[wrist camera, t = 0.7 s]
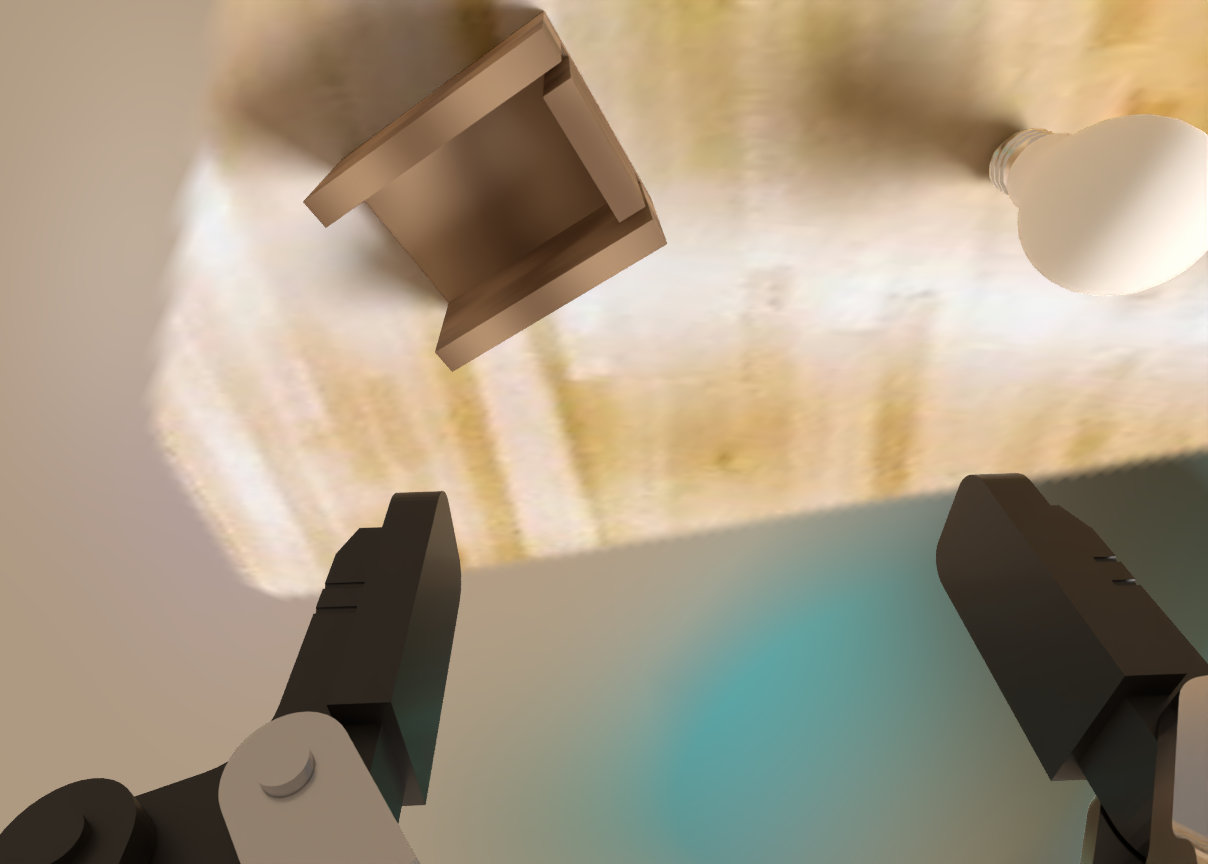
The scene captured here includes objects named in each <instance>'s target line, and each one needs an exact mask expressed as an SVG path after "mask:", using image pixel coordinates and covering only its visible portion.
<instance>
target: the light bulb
mask: <svg viewBox="0 0 1208 864" xmlns="http://www.w3.org/2000/svg"><path fill="white" fill-rule="evenodd" d="M989 178H990V180H991V181H992V183H993V185H994V187H995V188H997V189H998V190H1000V191H1001V192H1003V193H1005V194H1007V195H1008V196H1009V197H1010V199H1011V200H1012V202H1013V203H1014V205H1015V206H1016V207H1018V208H1019V209H1018V234H1019V239H1020V241H1021V244H1022V247H1023V250H1024V252H1025V254H1026V256H1027V258H1028V259H1029V261H1030V262H1031V263H1032V265H1033V266H1034V267H1035V268H1036V269H1037V270H1038V271H1039V272H1040V273H1041V274H1042V275H1043V276H1044V277H1046V278H1047V279H1048V280H1050V281H1051V282H1053V283H1055V284H1057V285H1059V286H1061V287H1063V288H1066V289H1068V290H1070V291H1073V292H1077V293H1083V294H1088V295H1095V296H1115V295H1127V294H1131V293H1136V292H1141V291H1143V290H1146V289H1149V288H1151V287H1154V286H1157V285H1159V284H1162V283H1164V282H1166V281H1168V280H1170V279H1172V278H1174V277H1176V276H1178V275H1179V274H1180V273H1182V272H1183V271H1185V270H1186V269H1188V268H1189V267H1190V266H1192V265H1193V264H1194V263H1195V262H1196V261H1197V260H1198V259H1200V258H1201V257H1202V256H1203V255H1204V253H1205V252H1206V251H1207V250H1208V135H1207V134H1206V133H1205V132H1203V131H1202V130H1200V129H1198V128H1196V127H1194V126H1192V125H1190V124H1188V123H1186V122H1184V121H1182V120H1180V119H1176V118H1171V117H1166V116H1160V115H1153V114H1140V115H1128V116H1121V117H1116V118H1112V119H1108V120H1104V121H1101V122H1099V123H1097V124H1094V125H1092V126H1090V127H1087V128H1085V129H1083V130H1081V131H1079V132H1077V133H1075V134H1069V133H1052V132H1051V131H1047V130H1046V129H1037V128H1032V129H1026V130H1023V131H1020V132H1017V133H1014V134H1013V135H1012V136H1010V137H1009V138H1007V139H1006V140H1005V141H1003V142H1002V143H1001V145H1000V146H999V147H998V148H997V149H996V150H995V151H994V152H993V155H992V158H991V161H990V164H989Z"/></svg>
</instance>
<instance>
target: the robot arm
mask: <svg viewBox="0 0 1208 864" xmlns="http://www.w3.org/2000/svg"><path fill="white" fill-rule="evenodd" d="M936 564H937V571H938V575H939V578H940V581H941V583H942V585H943V587H944V589H945V591H946V592H947V594H948V596H949V598H950V599H951V601H952V603H953V605H954V606H955V609H956V610H957V612H958V614H959V616H960V618H961V619H962V621H963V623H964V625H965V627H966V628H967V630H968V632H969V634H970V636H971V637H972V639H973V641H974V643H975V645H976V646H977V648H978V650H979V652H980V653H981V655H982V657H983V659H984V660H985V663H986V664H987V666H988V668H989V670H990V672H991V673H992V675H993V677H994V679H995V680H996V682H997V684H998V686H999V688H1000V690H1001V692H1002V693H1003V695H1004V697H1005V699H1006V700H1007V702H1008V704H1009V706H1010V708H1011V710H1012V711H1013V713H1014V715H1015V717H1016V718H1017V720H1018V722H1019V724H1020V726H1021V728H1022V729H1023V731H1024V733H1025V735H1026V736H1027V738H1028V740H1029V742H1030V744H1031V746H1032V747H1033V749H1034V751H1035V753H1036V755H1037V756H1038V758H1039V760H1040V762H1041V763H1042V765H1043V767H1044V769H1045V771H1046V773H1047V774H1048V776H1049V778H1050V780H1051V781H1064V780H1087V781H1088V782H1089V784H1090V786H1091V787H1092V789H1093V791H1094V792H1095V794H1096V796H1095V797H1094V798H1093V800H1092V801H1091V803H1090V805H1089V808H1088V812H1087V819H1086V825H1085V832H1084V839H1083V845H1082V852H1081V858H1080V864H1208V664H1207V662H1206V661H1205V660H1204V659H1203V658H1202V657H1201V655H1200V654H1199V653H1198V652H1197V651H1196V650H1195V648H1194V647H1193V646H1192V645H1191V644H1190V643H1189V641H1188V640H1187V639H1186V638H1185V637H1184V635H1183V634H1182V633H1181V632H1180V631H1179V630H1178V628H1177V627H1176V626H1175V625H1174V624H1173V623H1172V621H1171V620H1170V619H1169V618H1168V617H1167V616H1166V615H1165V613H1164V612H1163V611H1162V610H1161V609H1160V607H1159V606H1158V605H1157V604H1156V603H1155V602H1154V600H1153V599H1152V598H1151V597H1150V596H1149V594H1148V593H1147V592H1146V591H1145V590H1144V589H1143V587H1142V586H1141V585H1136V583H1135V578H1134V577H1133V576H1132V575H1131V573H1130V572H1129V571H1128V570H1127V569H1126V567H1125V566H1124V565H1123V564H1122V563H1121V562H1117V561H1116V556H1115V554H1114V553H1113V552H1112V551H1111V550H1110V549H1109V548H1108V546H1107V545H1106V544H1105V543H1104V542H1103V540H1102V539H1101V538H1100V537H1099V536H1098V535H1097V533H1096V532H1095V531H1094V530H1093V529H1092V528H1091V527H1089V526H1088V525H1086V524H1085V523H1083V522H1082V521H1081V520H1079V519H1078V518H1076V517H1075V516H1073V515H1072V514H1071V513H1069V512H1068V511H1066V510H1065V509H1063V508H1062V507H1060V506H1059V505H1053V506H1051V505H1050V504H1049V503H1048V502H1047V500H1046V499H1045V498H1044V497H1043V496H1042V494H1041V493H1040V492H1039V491H1038V489H1037V488H1036V487H1035V486H1034V484H1033V483H1032V482H1031V481H1030V480H1029V479H1028V478H1027V477H1026V476H1024V475H1022V474H1019V473H1009V474H980V475H968V476H966V477H965V478H964V479H963V480H962V482H961V483H960V486H959V488H958V491H957V493H956V496H955V499H954V502H953V504H952V507H951V510H950V512H949V515H948V518H947V520H946V523H945V526H944V529H943V531H942V534H941V536H940V539H939V542H938V545H937V550H936ZM460 594H461V567H460V559H459V554H458V549H457V544H456V538H455V533H454V528H453V523H452V518H451V513H450V508H449V503H448V498H447V495H446V493H445V492H443V491H438V492H409V493H395V494H394V495H393V497H392V499H391V501H390V504H389V507H388V511H387V514H386V517H385V520H384V523H383V526H382V527H379V528H359V529H358V530H357V531H356V533H355V534H354V535H353V536H352V537H351V538H350V539H349V540H348V541H347V542H346V544H345V545H344V546H343V547H342V548H341V549H340V550H339V551H338V552H337V553H336V555H335V558H334V561H333V563H332V566H331V569H330V571H329V574H328V577H327V579H326V582H325V589H323V590H322V593H321V595H320V598H319V601H318V603H317V606H316V614H313V617H312V619H311V622H310V625H309V628H308V630H307V633H306V635H305V638H304V641H303V644H302V646H301V649H300V652H299V654H298V657H297V659H296V662H295V665H294V667H293V670H292V673H291V675H290V678H289V681H288V683H287V686H286V689H285V691H284V694H283V697H282V699H281V702H280V705H279V707H278V709H277V711H276V713H275V716H274V717H273V719H272V721H271V722H269V723H267V724H265V725H264V726H262V727H261V728H259V729H258V730H256V731H255V732H254V733H252V734H251V735H250V736H249V737H248V738H247V739H246V740H244V742H243V743H242V744H241V745H240V746H239V747H238V748H237V749H236V751H235V752H234V753H233V755H232V756H231V758H230V759H229V761H228V762H226V763H224V764H223V765H221V766H219V767H217V768H215V769H212V770H210V771H207V772H205V773H202V774H199V775H196V776H193V777H191V778H188V779H185V780H182V781H179V782H176V783H173V784H170V785H167V786H164V787H162V788H159V789H156V790H153V791H150V792H147V793H144V794H141V795H138V796H135V797H134V796H133V795H132V793H131V792H130V791H129V790H128V789H127V788H126V787H125V786H124V785H122V784H121V783H119V782H116V781H114V780H110V779H104V778H94V779H87V780H81V781H78V782H74V783H71V784H68V785H66V786H64V787H61V788H59V789H56V790H54V791H53V792H51V793H49V794H47V795H45V796H44V797H42V798H41V799H39V800H38V801H36V802H35V803H33V804H32V805H30V806H29V807H28V808H27V809H25V810H24V811H23V812H22V813H21V814H20V815H18V816H17V817H16V818H15V819H14V820H13V821H12V822H11V823H10V824H9V825H8V826H7V827H6V828H5V829H4V831H3V832H2V833H1V834H0V864H420V862H419V861H418V859H417V857H416V855H415V854H414V852H413V850H412V848H411V847H410V845H409V843H408V841H407V839H406V838H405V836H404V834H403V832H402V830H401V829H400V827H399V825H398V823H399V818H400V813H401V807H402V806H411V805H425V804H426V799H427V793H428V787H429V781H430V775H431V769H432V763H433V757H434V751H435V745H436V738H437V733H438V727H439V721H440V715H441V709H442V703H443V697H444V691H445V685H446V680H447V674H448V668H449V662H450V655H451V650H452V644H453V638H454V631H455V626H456V619H457V614H458V608H459V602H460Z"/></svg>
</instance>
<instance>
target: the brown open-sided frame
mask: <svg viewBox="0 0 1208 864" xmlns="http://www.w3.org/2000/svg"><path fill="white" fill-rule="evenodd" d="M363 201H366V203H367V204H368V205H369V206H370V208H371V209H372V210H373V211H374V212H375V214H376V215H377V216H378V217H379V219H380V220H381V221H382V222H383V223H384V225H385V226H386V227H387V228H388V229H389V231H390V232H391V233H392V234H393V236H394V237H395V238H396V239H397V240H398V242H399V243H400V244H401V245H402V246H403V248H404V249H405V250H406V251H407V253H408V254H409V255H410V256H411V257H412V259H413V260H414V261H415V262H416V263H417V265H418V266H419V267H420V268H421V270H422V271H423V272H424V273H425V274H426V276H427V277H428V278H429V279H430V280H431V282H432V283H433V284H434V285H435V287H436V288H437V289H438V290H439V291H440V293H441V294H442V295H443V296H444V297H445V299H446V300H447V301H448V302H449V304H448V308H447V311H446V315H445V318H444V322H443V326H442V329H441V333H440V336H439V340H438V343H437V347H436V351H435V353H436V354H437V355H438V356H439V357H440V358H441V360H442V361H443V362H444V363H445V364H446V365H447V366H448V368H449V369H450V370H451V371H452V372H453V371H455V370H456V369H458V368H460V367H461V366H463V365H465V364H466V363H468V362H470V361H471V360H473V359H475V358H476V357H478V356H480V355H481V354H483V353H485V352H486V351H488V350H490V349H492V348H493V347H495V346H497V345H498V344H500V343H502V342H503V341H505V340H507V339H508V338H510V337H512V336H513V335H515V334H517V333H518V332H520V331H522V330H523V329H525V328H527V327H528V326H530V325H532V324H533V323H535V322H537V321H539V320H540V319H542V318H544V317H545V316H547V315H549V314H550V313H552V312H554V311H555V310H557V309H559V308H560V307H562V306H564V305H565V304H567V303H569V302H570V301H572V300H574V299H575V298H577V297H579V296H581V295H582V294H584V293H586V292H587V291H589V290H591V289H592V288H594V287H596V286H597V285H599V284H601V283H602V282H604V281H606V280H607V279H609V278H611V277H612V276H614V275H616V274H617V273H619V272H621V271H622V270H624V269H626V268H628V267H629V266H631V265H633V264H634V263H636V262H638V261H639V260H641V259H643V258H644V257H646V256H648V255H649V254H651V253H653V252H654V251H656V250H658V249H659V248H661V247H663V246H664V245H666V244H667V242H666V239H665V236H664V233H663V231H662V228H661V225H660V222H659V219H658V217H657V214H656V211H655V208H654V205H653V203H652V200H651V197H650V195H649V194H648V192H647V190H646V188H645V187H644V185H643V183H642V181H641V180H640V178H639V176H638V174H637V173H636V171H635V169H634V167H633V166H632V164H631V162H630V160H629V159H628V157H627V155H626V153H625V152H624V150H623V148H622V146H621V145H620V143H619V141H618V139H617V138H616V136H615V134H614V132H613V131H612V129H611V127H610V125H609V124H608V122H607V120H606V118H605V117H604V115H603V113H602V111H601V110H600V108H599V106H598V104H597V103H596V101H595V99H594V97H593V95H592V94H591V92H590V90H589V88H588V87H587V85H586V83H585V81H584V80H583V78H582V76H581V74H580V73H579V71H578V69H577V67H576V66H575V64H574V62H573V60H572V59H571V57H570V55H569V53H568V52H567V50H566V48H565V46H564V45H563V43H562V41H561V39H560V38H559V36H558V34H557V32H556V31H555V29H554V27H553V25H552V24H551V22H550V20H549V18H548V17H547V15H546V13H545V11H543V12H542V13H541V14H539V15H538V16H536V17H535V18H534V19H532V20H531V21H530V22H528V23H527V24H526V25H524V26H523V27H521V28H520V29H519V30H517V31H516V32H515V33H513V34H512V35H511V36H509V37H508V38H506V39H505V40H504V41H502V42H501V43H500V44H498V45H497V46H496V47H494V48H493V49H492V50H490V51H489V52H487V53H486V54H485V55H483V56H482V57H481V58H479V59H478V60H477V61H475V62H474V63H472V64H471V65H470V66H468V67H467V68H466V69H464V70H463V71H462V72H460V73H459V74H457V75H456V76H455V77H453V78H452V79H451V80H449V81H448V82H447V83H445V84H444V85H443V86H441V87H440V88H438V89H437V90H436V91H434V92H433V93H432V94H430V95H429V96H428V97H426V98H425V99H423V100H422V101H421V102H419V103H418V104H417V105H415V106H414V107H413V108H411V109H410V110H408V111H407V112H406V113H404V114H403V115H402V116H400V117H399V118H398V119H396V120H395V121H394V122H392V123H391V124H389V125H388V126H387V127H385V128H384V129H383V130H381V131H380V132H379V133H377V134H376V135H374V136H373V137H372V138H370V139H369V140H368V141H366V142H365V143H364V144H362V145H361V146H359V147H358V148H357V149H355V150H354V151H353V152H351V153H350V154H349V155H347V156H346V157H345V158H343V159H342V160H341V161H340V162H339V163H338V164H337V165H336V166H335V167H334V169H333V170H332V171H331V172H330V173H329V174H328V175H327V176H326V177H325V178H324V179H323V181H322V182H321V183H320V184H319V185H318V186H317V187H316V188H315V189H314V190H313V191H312V193H311V194H310V195H309V196H308V197H307V198H306V199H305V200H304V201H303V202H304V204H305V205H306V206H307V207H308V208H309V209H310V210H311V212H312V213H313V214H314V215H315V216H316V217H317V218H318V220H319V221H320V222H321V223H322V224H323V225H324V226H325V227H328V226H329V225H331V224H332V223H333V222H335V221H336V220H338V219H339V218H341V217H342V216H343V215H345V214H346V213H348V212H349V211H350V210H352V209H353V208H355V207H356V206H358V205H359V204H360V203H362V202H363Z"/></svg>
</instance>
